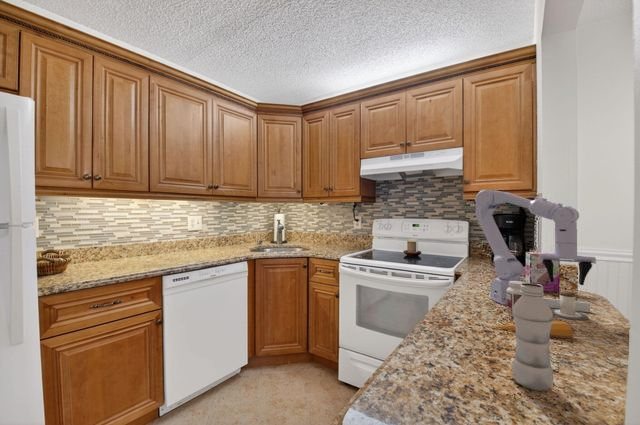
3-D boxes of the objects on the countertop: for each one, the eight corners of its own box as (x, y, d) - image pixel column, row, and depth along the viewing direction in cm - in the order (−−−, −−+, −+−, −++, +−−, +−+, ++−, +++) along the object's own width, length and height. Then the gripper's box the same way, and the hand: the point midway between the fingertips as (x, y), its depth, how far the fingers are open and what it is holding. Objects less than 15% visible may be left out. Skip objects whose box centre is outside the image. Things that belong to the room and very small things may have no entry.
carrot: (571, 339, 80) (566, 321, 82) (577, 339, 77) (572, 320, 78) (489, 335, 88) (486, 319, 90) (490, 335, 84) (488, 318, 86)
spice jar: (567, 315, 95) (567, 294, 95) (556, 311, 99) (556, 291, 99) (579, 315, 95) (578, 293, 95) (567, 311, 99) (567, 290, 99)
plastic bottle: (504, 377, 61) (503, 281, 61) (535, 375, 61) (533, 280, 61) (529, 397, 54) (528, 290, 54) (563, 394, 55) (561, 288, 55)
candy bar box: (530, 291, 125) (530, 253, 125) (525, 288, 130) (524, 251, 130) (560, 292, 123) (560, 254, 123) (554, 289, 127) (553, 252, 127)
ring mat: (567, 320, 91) (567, 319, 91) (541, 310, 101) (541, 309, 101) (596, 319, 92) (596, 318, 92) (567, 309, 102) (567, 307, 102)
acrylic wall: (590, 312, 99) (590, 303, 99) (539, 306, 106) (538, 297, 106) (589, 311, 99) (589, 302, 99) (538, 305, 106) (538, 297, 106)
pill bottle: (532, 316, 96) (532, 282, 96) (524, 319, 93) (523, 285, 93) (511, 310, 101) (511, 279, 101) (503, 314, 98) (502, 281, 98)
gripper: (591, 242, 97) (591, 283, 97) (537, 240, 104) (537, 278, 104) (597, 244, 91) (598, 287, 91) (540, 242, 98) (540, 282, 98)
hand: (566, 283), depth 97 cm, fingers open, 7 cm apart
